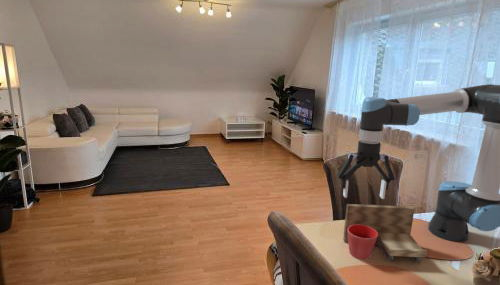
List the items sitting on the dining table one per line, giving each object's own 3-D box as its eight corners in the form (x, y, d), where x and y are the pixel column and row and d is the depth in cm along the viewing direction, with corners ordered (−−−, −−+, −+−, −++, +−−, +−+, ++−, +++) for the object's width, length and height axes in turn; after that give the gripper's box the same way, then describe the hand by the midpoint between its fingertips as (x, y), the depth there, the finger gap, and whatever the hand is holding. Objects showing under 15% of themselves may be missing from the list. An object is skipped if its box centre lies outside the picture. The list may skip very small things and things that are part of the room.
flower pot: (377, 264, 116) (380, 240, 114) (346, 259, 118) (348, 236, 116) (372, 248, 126) (375, 226, 124) (344, 244, 128) (346, 222, 126)
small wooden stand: (407, 245, 129) (409, 231, 128) (424, 265, 115) (427, 251, 114) (375, 243, 130) (376, 230, 128) (388, 264, 116) (390, 249, 115)
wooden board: (406, 242, 131) (412, 206, 127) (408, 245, 129) (414, 208, 125) (343, 239, 132) (346, 203, 128) (344, 242, 130) (348, 206, 126)
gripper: (400, 140, 116) (393, 194, 121) (332, 137, 117) (327, 191, 122) (410, 144, 109) (401, 202, 114) (336, 142, 110) (331, 199, 115)
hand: (363, 197), depth 118 cm, fingers open, 13 cm apart
